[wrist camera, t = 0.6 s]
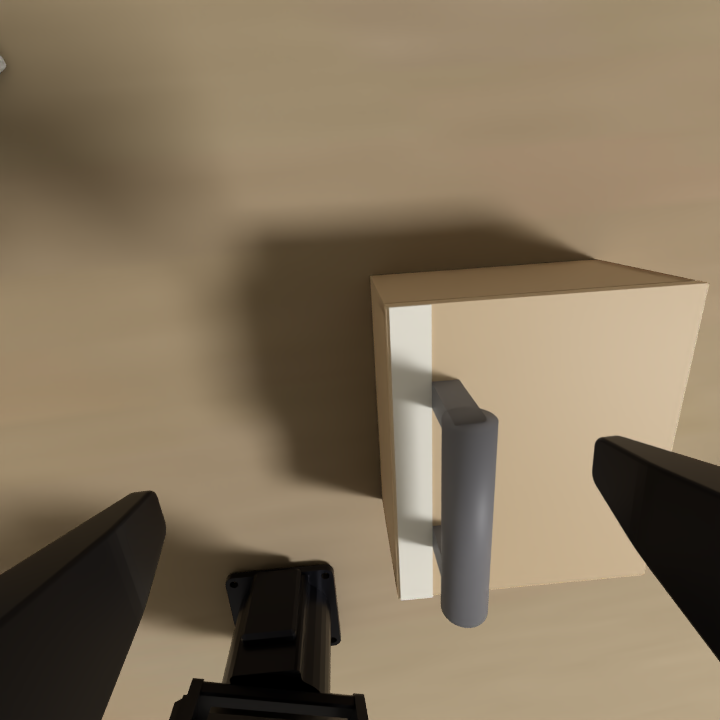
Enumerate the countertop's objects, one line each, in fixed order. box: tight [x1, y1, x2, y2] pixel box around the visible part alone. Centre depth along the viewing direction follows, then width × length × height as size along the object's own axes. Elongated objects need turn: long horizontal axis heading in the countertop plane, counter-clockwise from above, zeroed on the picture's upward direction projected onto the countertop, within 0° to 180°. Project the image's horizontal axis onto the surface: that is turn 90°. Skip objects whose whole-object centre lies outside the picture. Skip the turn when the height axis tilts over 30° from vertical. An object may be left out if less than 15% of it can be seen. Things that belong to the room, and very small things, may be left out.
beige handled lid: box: [384, 281, 709, 628], centre depth 15 cm, size 13×11×4 cm
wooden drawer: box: [370, 259, 695, 587], centre depth 20 cm, size 13×11×6 cm
